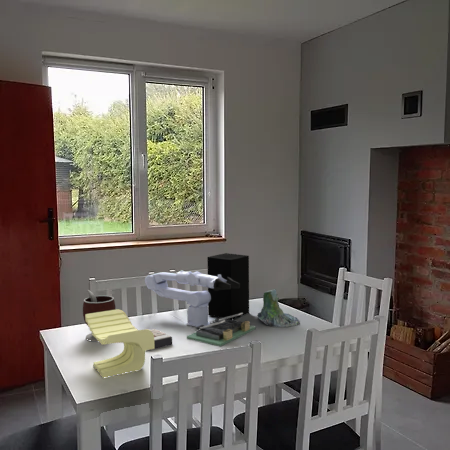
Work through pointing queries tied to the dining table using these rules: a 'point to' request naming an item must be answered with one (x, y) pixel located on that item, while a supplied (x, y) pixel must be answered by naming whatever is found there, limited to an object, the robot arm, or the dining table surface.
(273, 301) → the tree stump
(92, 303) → the mate gourd
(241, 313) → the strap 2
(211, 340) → the circuit board
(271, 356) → the dining table surface
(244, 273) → the video game console
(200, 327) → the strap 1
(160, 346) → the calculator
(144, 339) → the slatted curved stool
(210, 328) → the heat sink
